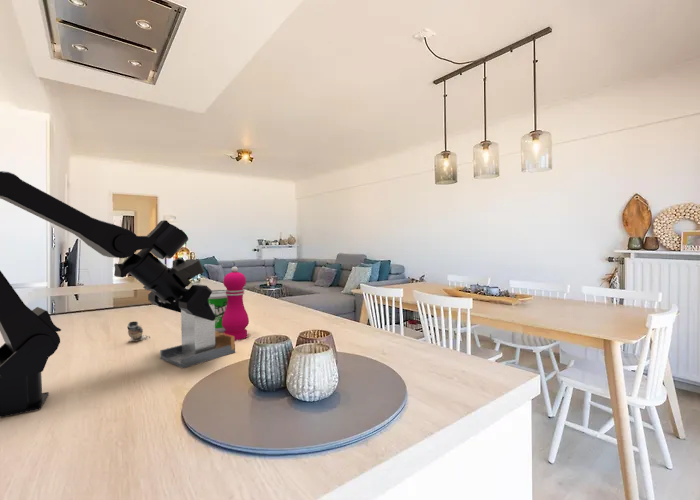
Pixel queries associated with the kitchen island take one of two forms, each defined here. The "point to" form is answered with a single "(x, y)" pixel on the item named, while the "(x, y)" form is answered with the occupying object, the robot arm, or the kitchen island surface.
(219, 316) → the soda can
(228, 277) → the pepper mill
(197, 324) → the block
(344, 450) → the kitchen island surface
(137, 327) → the vase
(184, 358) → the cradle
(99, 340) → the kitchen island surface
